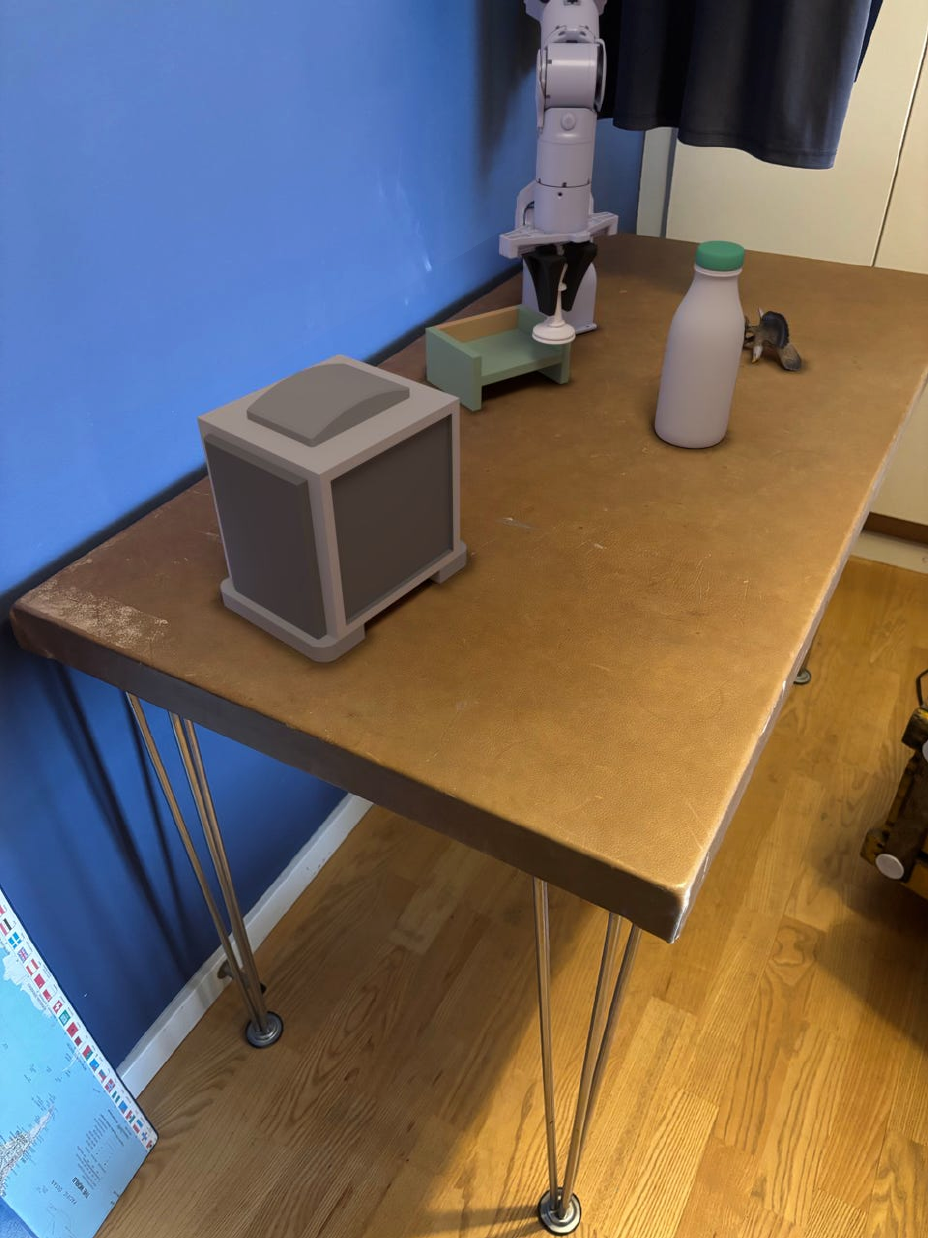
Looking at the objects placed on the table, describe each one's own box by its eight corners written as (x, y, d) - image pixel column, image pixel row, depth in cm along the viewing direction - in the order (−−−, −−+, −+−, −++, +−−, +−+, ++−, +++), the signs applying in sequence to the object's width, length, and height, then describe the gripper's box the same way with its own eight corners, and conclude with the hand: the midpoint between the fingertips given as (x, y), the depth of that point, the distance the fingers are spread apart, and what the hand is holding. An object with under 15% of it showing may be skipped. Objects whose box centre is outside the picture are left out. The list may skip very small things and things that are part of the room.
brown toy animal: (715, 351, 115) (780, 359, 109) (734, 294, 114) (800, 299, 108) (742, 368, 120) (806, 377, 114) (760, 314, 119) (825, 321, 113)
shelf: (519, 353, 117) (521, 303, 113) (568, 382, 110) (572, 329, 106) (426, 380, 111) (425, 328, 107) (472, 411, 104) (473, 357, 100)
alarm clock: (367, 510, 88) (352, 326, 77) (472, 560, 82) (473, 367, 70) (216, 601, 78) (172, 402, 66) (324, 667, 71) (296, 460, 59)
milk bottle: (725, 453, 97) (764, 262, 84) (652, 446, 98) (680, 256, 85) (724, 420, 103) (761, 236, 90) (655, 413, 104) (681, 231, 91)
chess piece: (524, 339, 103) (529, 248, 97) (542, 324, 106) (547, 235, 100) (565, 347, 101) (572, 255, 95) (581, 332, 105) (589, 242, 98)
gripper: (530, 200, 88) (524, 337, 96) (642, 178, 94) (627, 308, 102) (488, 184, 92) (486, 315, 101) (598, 163, 98) (587, 289, 107)
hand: (555, 310), depth 102 cm, fingers closed on chess piece
